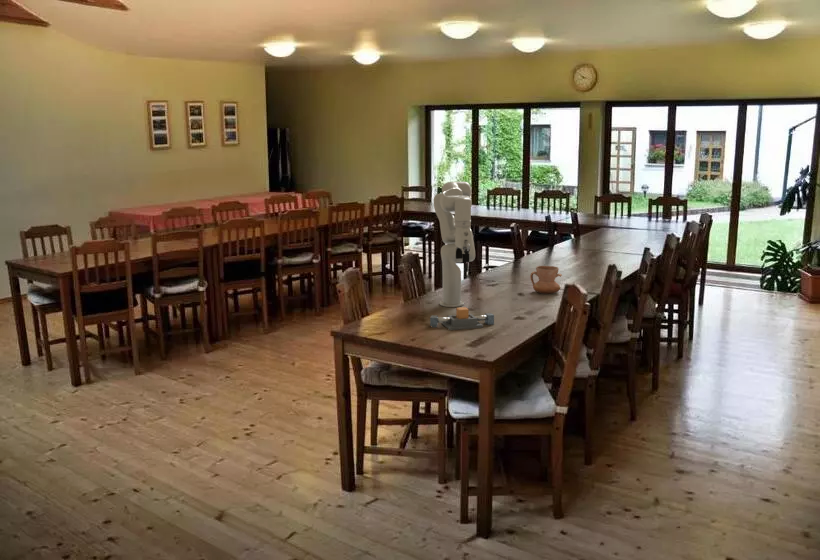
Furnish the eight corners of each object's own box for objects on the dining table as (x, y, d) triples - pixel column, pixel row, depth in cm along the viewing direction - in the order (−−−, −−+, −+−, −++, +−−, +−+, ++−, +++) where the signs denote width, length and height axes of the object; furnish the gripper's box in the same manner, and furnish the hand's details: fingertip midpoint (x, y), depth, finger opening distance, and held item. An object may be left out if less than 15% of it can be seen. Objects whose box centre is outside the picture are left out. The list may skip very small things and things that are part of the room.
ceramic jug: (565, 291, 394) (566, 266, 391) (556, 297, 382) (557, 271, 379) (535, 288, 403) (536, 263, 400) (525, 293, 391) (525, 267, 388)
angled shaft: (450, 325, 328) (450, 316, 327) (449, 327, 325) (449, 318, 324) (431, 324, 330) (431, 315, 329) (430, 327, 326) (430, 317, 325)
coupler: (452, 322, 329) (453, 308, 327) (468, 321, 331) (468, 306, 329) (456, 325, 324) (456, 310, 323) (471, 323, 326) (471, 309, 325)
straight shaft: (475, 325, 327) (475, 316, 326) (472, 323, 331) (472, 314, 330) (493, 324, 330) (494, 315, 329) (490, 322, 333) (490, 312, 333)
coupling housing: (442, 324, 331) (442, 315, 330) (474, 321, 335) (474, 312, 334) (449, 330, 321) (449, 321, 320) (482, 327, 325) (482, 318, 324)
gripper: (476, 226, 324) (476, 263, 327) (464, 221, 340) (463, 256, 343) (461, 226, 322) (460, 264, 325) (449, 222, 338) (449, 257, 342)
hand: (462, 260), depth 334 cm, fingers open, 9 cm apart
